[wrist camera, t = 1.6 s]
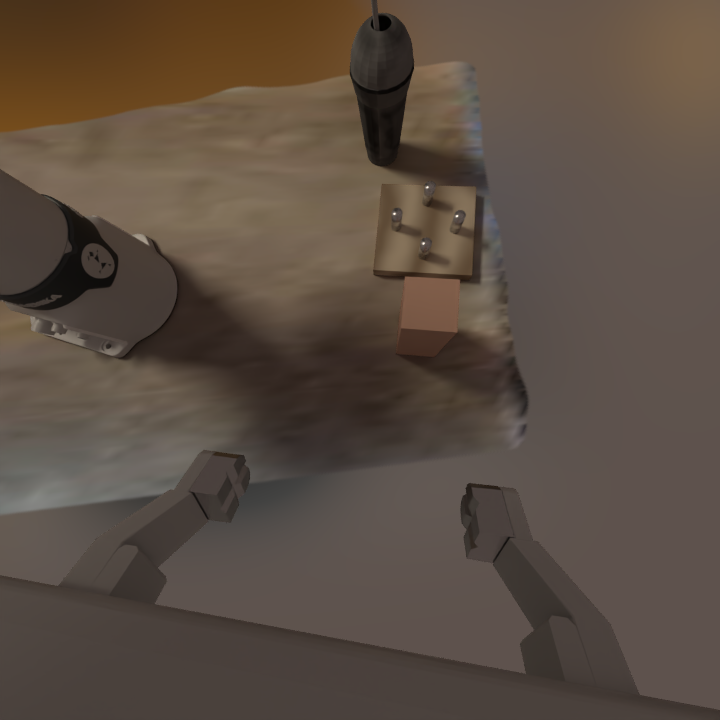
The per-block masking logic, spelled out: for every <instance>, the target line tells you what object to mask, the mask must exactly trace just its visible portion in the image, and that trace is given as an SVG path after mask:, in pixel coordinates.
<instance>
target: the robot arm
mask: <svg viewBox="0 0 720 720" xmlns="http://www.w3.org/2000/svg"><path fill="white" fill-rule="evenodd" d="M176 297H177V280H176V276H175V273H174V271H173V269H172V267H171V265H170V264H169V263H168V262H167V261H166V260H165V259H164V258H163V257H162V256H161V255H159V254H158V253H157V251H156V249H155V247H154V244H153V242H152V241H151V239H150V238H149V237H147V236H145V235H143V234H134V235H130V234H129V233H127V232H125V231H124V230H122V229H120V228H118V227H117V226H115V225H113V224H111V223H110V222H108V221H106V220H105V219H103V218H101V217H99V216H96V215H93V216H82V215H81V214H80V213H79V212H77V211H76V210H75V209H73V208H71V207H70V206H68V205H66V204H64V203H62V202H60V201H58V200H56V199H54V198H52V197H50V196H47V195H43V194H39V193H38V192H36V191H35V190H33V189H31V188H30V187H28V186H27V185H25V184H23V183H22V182H20V181H19V180H17V179H15V178H14V177H12V176H11V175H9V174H7V173H6V172H4V171H2V170H1V169H0V300H1V301H3V302H5V303H6V305H7V307H8V308H9V309H10V310H12V311H15V312H19V313H22V314H26V315H30V320H31V324H32V326H31V330H32V331H36V332H38V333H41V334H44V335H47V336H50V337H54V338H57V339H60V340H63V341H66V342H69V343H72V344H75V345H79V346H82V347H85V348H88V349H91V350H94V351H97V352H101V353H104V354H107V355H110V356H113V357H116V358H120V357H123V356H124V355H126V354H127V353H128V352H129V351H130V350H131V348H132V347H133V346H134V345H135V344H136V343H137V342H139V341H140V340H142V339H144V338H146V337H147V336H149V335H151V334H152V333H154V332H155V331H156V330H158V329H159V328H160V327H161V326H162V325H163V324H164V322H165V321H166V320H167V318H168V317H169V315H170V314H171V312H172V310H173V307H174V305H175V301H176ZM110 346H111V348H110ZM245 462H246V460H245V457H244V455H237V454H230V453H222V452H216V451H207V450H203V451H202V452H201V453H199V454H198V456H197V457H196V459H195V460H194V462H193V463H192V465H191V466H190V467H189V469H188V470H187V472H186V473H185V475H184V476H183V478H182V479H181V480H180V482H179V483H178V485H177V486H176V488H175V489H174V490H169V491H167V492H166V493H164V494H163V495H161V496H160V497H158V498H157V499H155V500H154V501H152V502H151V503H149V504H148V505H146V506H145V507H143V508H141V509H140V510H138V511H137V512H135V513H134V514H132V515H131V516H129V517H128V518H126V519H125V520H123V521H122V522H120V523H119V524H117V525H116V526H114V527H113V528H111V529H110V530H108V531H107V532H105V533H104V534H102V535H101V536H99V537H98V538H96V539H95V541H94V542H93V543H92V544H91V546H90V547H89V548H88V549H87V551H86V552H85V553H84V554H83V556H82V557H81V558H80V560H79V561H78V562H77V563H76V565H75V566H74V567H73V568H72V569H71V571H70V572H69V573H68V574H67V576H66V577H65V578H64V579H63V581H62V582H61V583H60V584H59V586H55V585H49V584H44V583H39V582H34V581H28V580H23V579H18V578H12V577H7V576H2V575H0V720H720V710H716V709H711V708H705V707H700V706H695V705H689V704H684V703H678V702H673V701H668V700H662V699H658V698H652V697H647V696H642V695H639V692H638V690H637V687H636V685H635V682H634V680H633V678H632V675H631V673H630V671H629V668H628V666H627V664H626V661H625V658H624V656H623V654H622V651H621V649H620V647H619V644H618V642H617V639H616V637H615V634H614V632H613V630H612V627H611V625H610V624H609V622H608V621H607V620H606V619H605V617H604V616H603V615H602V614H601V613H600V612H599V611H598V610H597V608H596V607H595V606H594V605H593V604H592V603H591V602H590V600H589V599H588V598H587V597H586V596H585V595H584V594H583V593H582V591H581V590H580V589H579V588H578V587H577V586H576V584H575V583H574V582H573V581H572V580H571V579H570V578H569V576H568V575H567V574H566V573H565V572H564V571H563V570H562V569H561V567H560V566H559V565H558V564H557V563H556V562H555V561H554V559H553V558H552V557H551V556H550V555H549V554H548V553H547V551H545V549H544V548H543V547H542V546H541V545H540V544H539V542H537V541H533V539H532V536H531V533H530V530H529V526H528V523H527V520H526V517H525V514H524V511H523V508H522V504H521V501H520V498H519V495H518V492H517V491H516V489H513V488H505V487H498V486H491V485H482V484H472V483H469V484H467V487H466V494H465V495H464V496H463V498H462V501H461V520H462V524H463V526H464V527H465V528H466V529H467V531H466V533H465V535H464V543H465V550H466V557H467V559H473V560H478V561H484V562H490V563H494V564H493V566H494V567H495V569H496V570H497V572H498V573H499V575H500V577H501V578H502V580H503V581H504V583H505V584H506V586H507V587H508V589H509V591H510V592H511V594H512V595H513V597H514V599H515V600H516V602H517V603H518V605H519V607H520V608H521V610H522V611H523V613H524V614H525V616H526V618H527V619H528V621H529V622H530V624H531V625H532V627H533V628H534V631H533V632H531V633H530V634H529V635H528V636H527V637H526V638H524V639H523V640H522V642H521V643H520V647H521V652H522V656H523V661H524V666H525V671H526V674H523V673H519V672H513V671H508V670H503V669H498V668H492V667H487V666H481V665H476V664H471V663H466V662H460V661H455V660H449V659H444V658H439V657H434V656H428V655H423V654H418V653H412V652H407V651H402V650H396V649H391V648H385V647H380V646H375V645H370V644H364V643H359V642H354V641H348V640H343V639H337V638H332V637H327V636H321V635H316V634H311V633H306V632H300V631H295V630H290V629H284V628H279V627H274V626H268V625H263V624H257V623H252V622H247V621H241V620H236V619H231V618H226V617H220V616H215V615H210V614H204V613H199V612H194V611H188V610H183V609H178V608H172V607H167V606H161V605H156V604H155V602H156V600H157V598H158V596H159V595H160V593H161V591H162V589H163V587H164V585H165V584H166V576H165V575H164V574H163V573H162V572H161V571H160V570H159V569H158V567H159V566H160V565H161V564H162V563H163V562H164V561H166V560H167V559H168V558H169V557H170V556H171V555H172V554H173V553H174V552H175V551H176V550H178V549H179V548H180V547H181V546H182V545H183V544H184V543H185V542H186V541H188V540H189V539H190V538H191V537H192V536H193V535H194V534H195V533H196V532H197V531H198V530H199V529H201V528H202V527H203V526H204V525H205V524H206V523H207V522H208V520H212V521H221V522H229V523H230V522H231V521H232V519H233V516H234V514H235V512H236V510H237V508H238V506H239V501H238V498H239V497H240V496H242V495H243V494H244V493H245V491H246V489H247V487H248V484H249V480H250V471H249V468H248V467H247V466H245V465H244V464H245Z"/></svg>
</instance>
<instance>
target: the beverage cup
mask: <svg viewBox="0 0 720 720" xmlns="http://www.w3.org/2000/svg"><path fill="white" fill-rule="evenodd" d="M371 4H372V13H373V16H371V17H370V18H368V19H367V20H366V21H365V22H364V23H363V25H362V26H361V27H360V28H359V30H358V32H357V34H356V37H355V39H354V42H353V45H352V49H351V62H350V76H351V79H352V82H353V86H354V89H355V93H356V95H357V100H358V105H359V111H360V117H361V123H362V128H363V134H364V140H365V146H366V149H367V153H368V158H369V160H370V161H371V162H372V163H373V164H375V165H378V166H385V165H388V164H390V163H392V162H393V161H394V160H395V158H396V157H397V153H398V147H399V143H400V136H401V130H402V123H403V116H404V110H405V103H406V96H407V91H408V88H409V84H410V80H411V76H412V73H413V70H414V59H413V49H412V43H411V39H410V37H409V34H408V32H407V30H406V28H405V26H404V25H403V23H402V22H401V21H400V20H399V19H398V18H396V17H395V16H393V15H391V14H387V13H378V8H377V0H371Z"/></svg>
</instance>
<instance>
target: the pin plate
mask: <svg viewBox="0 0 720 720" xmlns="http://www.w3.org/2000/svg"><path fill="white" fill-rule="evenodd" d="M475 201H476V187H469V186H436V184H435V183H434V182H433V181H428V182H427V183H426V184H425V185H398V184H382V188H381V198H380V208H379V218H378V228H377V239H376V249H375V259H374V269H373V271H374V275H387V276H404V277H405V276H406V277H424V278H441V279H458V280H469V279H470V278H471V276H472V267H473V245H474V223H475Z"/></svg>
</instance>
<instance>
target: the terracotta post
mask: <svg viewBox="0 0 720 720" xmlns="http://www.w3.org/2000/svg"><path fill="white" fill-rule="evenodd" d="M459 290H460V280H458V279H441V278H424V277H406V276H405V281H404V288H403V295H402V301H401V308H400V315H399V324H398V336H397V348H396V354H402V355H414V356H426V357H435V356H436V355H437V354H438V352H439V351H440V350H441V349H442V348H443V347H444V346H445V345H446V344H447V343H448V342H449V341H450V340H451V339H452V338H453V336H454V335H455V334H456V333H457V329H458V310H459Z"/></svg>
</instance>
